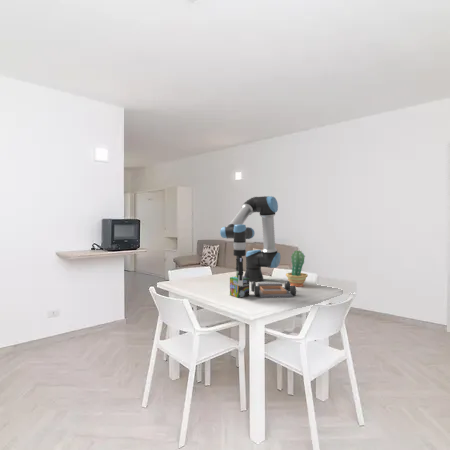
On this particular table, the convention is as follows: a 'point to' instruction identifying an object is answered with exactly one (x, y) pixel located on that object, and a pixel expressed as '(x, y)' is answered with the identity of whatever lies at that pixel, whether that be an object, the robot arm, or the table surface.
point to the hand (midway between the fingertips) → (239, 283)
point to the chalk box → (239, 287)
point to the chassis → (273, 290)
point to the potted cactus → (297, 270)
